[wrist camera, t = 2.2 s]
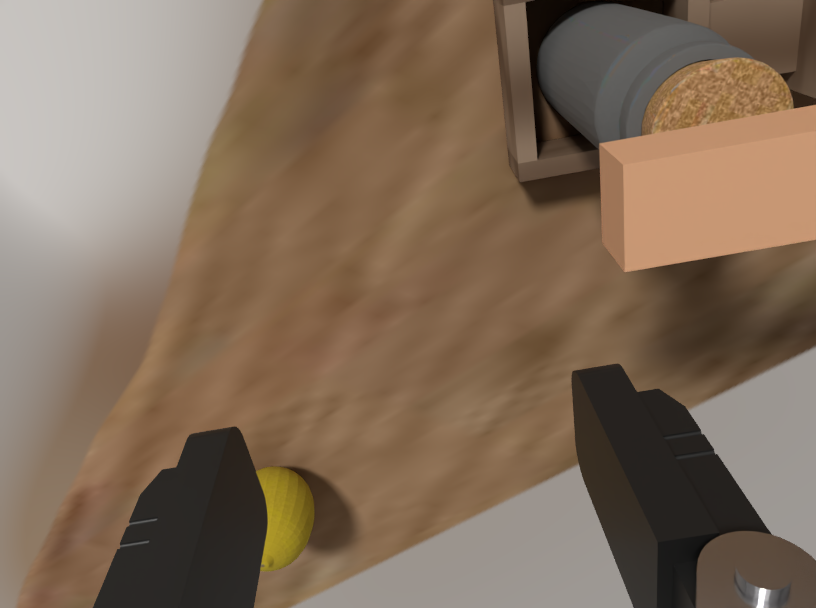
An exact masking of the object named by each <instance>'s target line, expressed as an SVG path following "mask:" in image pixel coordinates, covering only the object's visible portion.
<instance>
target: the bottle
mask: <svg viewBox="0 0 816 608" xmlns="http://www.w3.org/2000/svg"><path fill="white" fill-rule="evenodd" d="M536 68H537V77H538V83H539V85H540V88H541V90H542V93H543V95H544V96H545V98H546V99H547V101H548V102H549V103H550V104H551V105H552V107H553V108H554V109H555V110H556V111H557V112H558V113H560V114H561V115H562V116H563V117H564V118H565V119H566V120H567V121H568V122H569V123H570V124H571V125H573V126H574V127H575V128H576V129H577V130H578V131H579V132H580V133H581V134H582V135H583V136H585V137H586V138H587V139H588V140H589V141H590V142H591V143H592V144H593V145H594V146H595V147H596V148H598V149H599V143H605V142H611V141H616V140H622V139H627V138H633V137H639V136H644V135H650V134H655V133H661V132H666V131H672V130H678V129H683V128H689V127H694V126H700V125H706V124H711V123H717V122H722V121H728V120H734V119H739V118H745V117H750V116H756V115H761V114H767V113H773V112H778V111H784V110H789V109H794V105H793V99H792V95H791V92H790V90H789V87H788V85H787V84H786V82H785V81H784V79H783V78H782V76H781V75H780V74H778V73H777V72H776V71H775V70H774V69H772V68H771V67H770V66H768V65H767V64H765V63H763V62H760V61H757V60H755V59H754V58H753V57H752V56H750V55H749V54H748V53H746V52H744V51H743V50H741V49H739V48H737V47H734V46H732V45H730V44H729V43H728V42H727V41H726V40H725V39H724V38H723V37H722V36H720V35H719V34H717V33H716V32H714V31H713V30H711V29H709V28H707V27H704V26H701V25H698V24H694V23H691V22H688V21H684V20H681V19H677V18H673V17H669V16H665V15H661V14H657V13H654V12H650V11H646V10H642V9H638V8H634V7H629V6H625V5H621V4H616V3H612V2H603V1H598V2H590V3H586V4H582V5H579V6H577V7H575V8H573V9H571V10H569V11H568V12H566V13H564V14H563V15H562V16H561V17H560V18H559V19H557V20H556V22H555V23H554V24H553V25H552V26H551V28H550V29H549V30H548V32H547V34H546V35H545V37H544V39H543V41H542V43H541V46H540V49H539V53H538V57H537V67H536Z"/></svg>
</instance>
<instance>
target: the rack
mask: <svg viewBox="0 0 816 608" xmlns="http://www.w3.org/2000/svg"><path fill="white" fill-rule="evenodd" d="M528 1H533V0H493V4H494V14H495V24H496V34H497V45H498V55H499V65H500V75H501V85H502V95H503V106H504V116H505V126H506V136H507V146H508V156H509V165H510V167H511V169H512V170H513V172H514V174H515V175H516V177H517V179H518V180H519V182H524V181H530V180H535V179H541V178H547V177H552V176H558V175H564V174H569V173H575V172H580V171H586V170H592V169H597V168H600V153H599V149H598V148H596V147H595V146H594V145H593V144H592V143H591V142H590V141H589V140H588V139H587V138H586V137H585V136H583V135H576V136H571V137H565V138H560V139H554V140H548V141H543V142H537V143H536V135H535V122H534V109H533V96H532V83H531V70H530V57H529V44H528V31H527V18H526V5H525V2H528ZM663 15H665V16H669V17H673V18H677V19H681V20H684V21H688V22H691V23H694V24H698V25H701V26H704V27H707V28H709V29H711V30H713V31H714V32H716V33H717V34H719V35H720V36H722V37H723V38H724V39H725V40H726V41H727V42H728V43H729V44H730V45H732V46H734V47H737V48H739V49H741V50H743V51H744V52H746V53H748V54H749V55H750V56H752V57H753V58H754V59H755V60H757V61H760V62H763V63H765V64H767V65H768V66H770V67H771V68H772V69H774V70H775V71H776V72H777V73H778V74H780V75H781V76H782V78H783V79H784V81H785V82H786V84H787V85H788V87H789V89H790V90H793V91H796V92H798V93H801V94H804V95H807V96H810V97H813V98H815V99H816V0H663Z"/></svg>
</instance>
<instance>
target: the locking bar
mask: <svg viewBox="0 0 816 608" xmlns="http://www.w3.org/2000/svg"><path fill="white" fill-rule="evenodd" d="M599 153H600V185H601V216H602V243H603V244H604V246H605V247H606V248H607V250H608V251H609V252H610V254H611V255H612V256H613V257H614V259H615V260H616V261H617V263H618V264H619V265H620V267H621V268H622V269H623V271H624V272H629V271H635V270H641V269H647V268H653V267H658V266H664V265H670V264H676V263H682V262H688V261H693V260H699V259H705V258H711V257H717V256H723V255H728V254H734V253H740V252H746V251H752V250H758V249H763V248H769V247H775V246H781V245H787V244H793V243H798V242H804V241H810V240H816V105H812V106H806V107H801V108H795V109H789V110H784V111H778V112H773V113H767V114H761V115H756V116H750V117H745V118H739V119H734V120H728V121H722V122H717V123H711V124H706V125H700V126H694V127H689V128H683V129H678V130H672V131H666V132H661V133H655V134H650V135H644V136H639V137H633V138H627V139H622V140H616V141H611V142H605V143H599Z"/></svg>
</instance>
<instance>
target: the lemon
mask: <svg viewBox="0 0 816 608" xmlns="http://www.w3.org/2000/svg"><path fill="white" fill-rule="evenodd" d="M256 473H257V476H258V478H259V481H260V484H261V487H262V489H263V492H264V495H265V500H266V505H267V514H268V526H267V535H266V540H265V546H264V551H263V557H262V563H261V568H260V571H274V570H278V569H281V568H283V567H286V566H287V565H289V564H291V563H292V562H293V561H294V560H295V559H297V558H298V556H299V555H300V554H301V552H302V551H303V549H304V548H305V546H306V544H307V542H308V540H309V537H310V534H311V531H312V528H313V524H314V500H313V496H312V493H311V491H310V488H309V486H308V485H307V483H306V482H305V481H304V479H303V478H302V477H301V476H299V475H298V474H297V473H295V472H294V471H292V470H290V469H288V468H283V467H273V466H272V467H266V468H263V469H260V470H257V471H256Z"/></svg>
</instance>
